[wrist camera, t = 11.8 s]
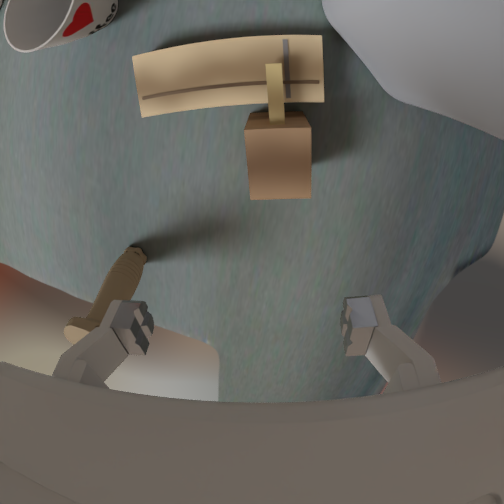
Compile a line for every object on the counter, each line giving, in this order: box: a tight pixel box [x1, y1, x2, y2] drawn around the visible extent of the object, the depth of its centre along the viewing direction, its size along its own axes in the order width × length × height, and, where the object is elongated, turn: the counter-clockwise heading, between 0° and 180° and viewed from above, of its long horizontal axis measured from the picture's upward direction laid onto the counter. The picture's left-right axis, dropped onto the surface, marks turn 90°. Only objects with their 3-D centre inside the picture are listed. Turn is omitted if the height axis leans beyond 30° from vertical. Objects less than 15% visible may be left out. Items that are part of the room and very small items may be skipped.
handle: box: [64, 247, 147, 345], centre depth 32 cm, size 5×6×15 cm
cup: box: [4, 0, 118, 52], centre depth 16 cm, size 8×8×10 cm
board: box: [132, 35, 324, 118], centre depth 23 cm, size 6×16×4 cm, turn 94°
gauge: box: [244, 63, 311, 200], centre depth 24 cm, size 11×5×7 cm, turn 4°
